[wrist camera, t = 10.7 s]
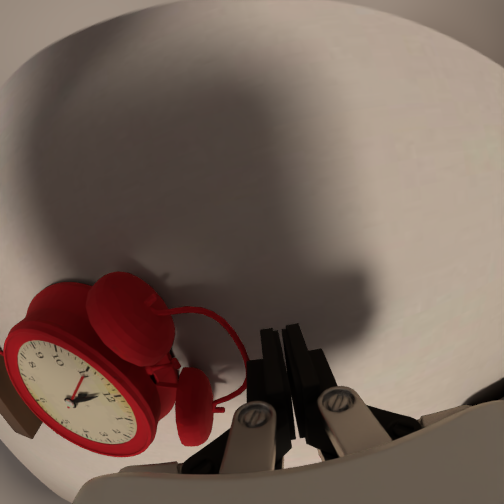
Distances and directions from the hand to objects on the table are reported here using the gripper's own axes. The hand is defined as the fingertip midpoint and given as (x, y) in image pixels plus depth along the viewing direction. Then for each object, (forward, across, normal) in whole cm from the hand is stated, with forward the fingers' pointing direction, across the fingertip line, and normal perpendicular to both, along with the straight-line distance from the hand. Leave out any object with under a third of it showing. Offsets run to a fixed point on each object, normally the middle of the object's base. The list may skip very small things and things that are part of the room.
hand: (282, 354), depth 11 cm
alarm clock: (+2, +9, 0) cm, 9 cm away
